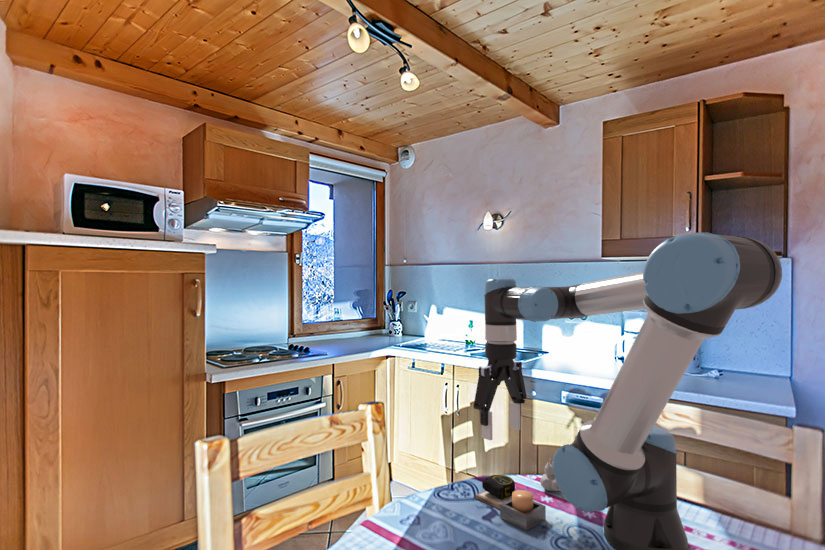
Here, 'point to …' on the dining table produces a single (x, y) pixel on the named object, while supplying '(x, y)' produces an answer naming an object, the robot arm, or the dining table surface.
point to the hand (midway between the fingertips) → (501, 433)
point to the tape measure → (499, 486)
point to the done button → (522, 501)
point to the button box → (523, 515)
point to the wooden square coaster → (491, 499)
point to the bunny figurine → (549, 478)
